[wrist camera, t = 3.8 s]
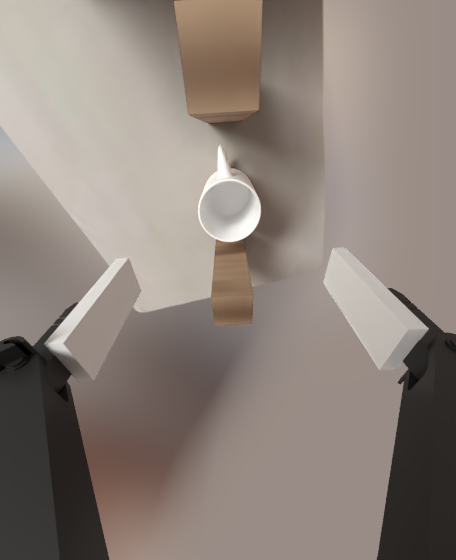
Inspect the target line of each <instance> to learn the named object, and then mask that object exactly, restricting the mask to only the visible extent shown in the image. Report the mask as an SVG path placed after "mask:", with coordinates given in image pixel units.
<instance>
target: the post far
mask: <svg viewBox="0 0 456 560" xmlns="http://www.w3.org/2000/svg"><path fill="white" fill-rule="evenodd" d="M211 299H212V307H213V315H214V323H215V325H237V324H252V315H253V292H252V286H251V280H250V274H249V268H248V262H247V256H246V250H245V244H244V239H242V240H239V241H235V242H223V241H219V240H217V239H216V246H215V258H214V270H213V282H212V294H211Z"/></svg>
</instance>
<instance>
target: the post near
mask: <svg viewBox="0 0 456 560" xmlns="http://www.w3.org/2000/svg"><path fill="white" fill-rule="evenodd" d="M174 7H175V15H176V22H177V30H178V38H179V46H180V54H181V62H182V70H183V77H184V85H185V93H186V101H187V109H188V115H190V116H193V117H195V118H197V119H199V120H202V121H204V122H206V123H218V122H234V121H242V120H244V119H245V118H247V117H249V116H250V115H252V114H254V113H255V112H257V111H259V97H260V65H261V32H262V0H180V1H174Z"/></svg>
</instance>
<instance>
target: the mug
mask: <svg viewBox="0 0 456 560" xmlns="http://www.w3.org/2000/svg"><path fill="white" fill-rule="evenodd" d="M198 216H199V220H200V223H201V225H202V227H203V228H204V230H205V231H206V232H207V233H208V234H209V235H210V236H212V237H213V238H215V239H217V240H219V241H223V242H235V241H239V240H242V239H244V238H246V237H247V236H249V235H250V234H251V233H252V232H253V231H254V230H255V228H256V227H257V225H258V223H259V220H260V217H261V204H260V200H259V198H258V195H257V193H256V191H255V189H254V187H253V185H252V183H251V181H250V180H249V178H248V177H247V176H246V175H245V174H244V173H243V172H241V171H240V170H237V169H234V168H231V166H230V164H229V161H228V159H227V156H226V154H225V151H224V149H223V147H222V145H219V148H218V171H216V172H215V173H214V174H212V175H211V176H210V178H209V179H208V181H207V183H206V185H205V188H204V190H203V193H202V196H201V199H200V201H199V205H198Z"/></svg>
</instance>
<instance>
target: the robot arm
mask: <svg viewBox="0 0 456 560" xmlns="http://www.w3.org/2000/svg"><path fill="white" fill-rule="evenodd" d="M323 283H324V285H325V286H326V288H327V289H328V291H329V293H330V294H331V296H332V297H333V299H334V301H335V302H336V304H337V305H338V307H339V308H340V310H341V311H342V313H343V314H344V316H345V318H346V319H347V320H348V322H349V324H350V325H351V327H352V328H353V330H354V331H355V333H356V335H357V336H358V337H359V339H360V341H361V342H362V344H363V345H364V347H365V348H366V350H367V352H368V353H369V355H370V356H371V358H372V359H373V361H374V362H375V364H376V365H377V367H378V369H379V370H397V369H398V367H399V366H400V365H401V364H402V362H404V363H405V365H406V366H407V367H408V370H407V371H406V372H405V374H404V375H403V376H402V377H401V378H400V380H399V381H398V383H399V384H401V383H402V382H403V381H404V385H403V392H402V399H401V405H400V412H399V418H398V426H397V432H396V438H395V445H394V452H393V458H392V465H391V471H390V478H389V484H388V491H387V498H386V504H385V511H384V518H383V525H382V531H381V537H380V544H379V551H378V556H377V560H456V334H452V333H444V332H443V331H442V330H441V329H440V328H439V327H438V326H437V325H436V324H434V323H433V322H432V321H431V320H430V319H429V318H428V317H427V316H426V315H425V314H424V313H422V312H421V311H420V310H419V309H417V307H416V306H415V305H414V304H413V303H411V302H410V301H409V300H408V299H407V298H406V297H405V296H404V295H403V294H401V293H399V292H397V291H396V290H394V289H392V288H386V287H385V286H384V285H383V284H382V283H381V282H380V281H379V280H378V279H377V278H376V277H375V276H374V275H373V274H372V273H371V272H370V271H368V269H367V268H366V267H365V266H363V265H362V264H361V263H360V262H359V261H358V260H357V259H356V258H355V257H354V256H353V255H352V254H351V253H350V252H349V251H348V250H347V249H346V248H333V249H332V252H331V256H330V260H329V263H328V267H327V270H326V274H325V278H324V281H323ZM140 292H141V289H140V286H139V284H138V281H137V279H136V276H135V273H134V271H133V268H132V265H131V263H130V260H129V258H117V259H116V260H115V261H114V262H113V264H112V265H111V266H110V267H109V268H108V269H107V271H106V272H105V273H104V274H103V275H102V276H101V278H100V279H99V280H98V281H97V282H96V283H95V285H94V286H93V287H92V288H91V289H90V290H89V292H88V293H87V294H86V295H85V296H84V297H83V299H82V300H81V301H80V302H79V303H75V304H73V305H72V306H70V307H69V308H68V309H66V310H65V311H64V313H63V314H62V315H61V316H60V317H59V319H57V320H56V321H55V323H54V325H52V326H51V327H50V328H49V329H48V330H47V332H46V333H45V334H44V335H43V336H42V337H41V338H40V339H39V340H38V342H37V343H36V344H35V345H34V346H33V347H32V346H31V345H30V344H29V343H28V342H27V341H26V340H25V339H24V338H23V337H20V336H16V337H10V338H7V339H4V340H2V341H0V560H109V556H108V552H107V548H106V543H105V539H104V535H103V530H102V525H101V521H100V517H99V512H98V508H97V503H96V499H95V494H94V490H93V486H92V481H91V477H90V472H89V468H88V464H87V459H86V455H85V450H84V446H83V442H82V437H81V432H80V428H79V424H78V419H77V415H76V410H75V406H74V402H73V397H72V393H71V388H70V385H69V384H68V382H67V380H68V379H69V377H70V375H72V376H73V377H74V378H75V379H76V380H77V381H94V379H95V377H96V375H97V373H98V372H99V370H100V368H101V366H102V364H103V362H104V360H105V358H106V356H107V355H108V353H109V351H110V349H111V347H112V345H113V343H114V341H115V339H116V337H117V336H118V334H119V332H120V330H121V328H122V326H123V324H124V322H125V321H126V319H127V317H128V315H129V313H130V311H131V309H132V307H133V305H134V303H135V302H136V300H137V298H138V296H139V294H140Z"/></svg>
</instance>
